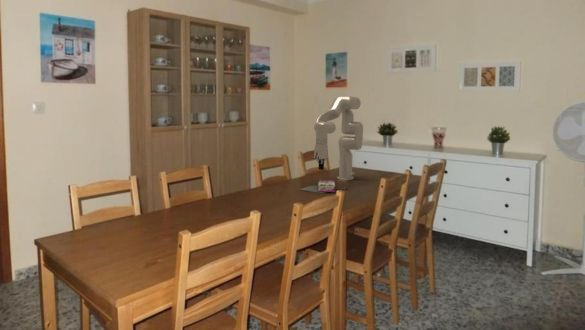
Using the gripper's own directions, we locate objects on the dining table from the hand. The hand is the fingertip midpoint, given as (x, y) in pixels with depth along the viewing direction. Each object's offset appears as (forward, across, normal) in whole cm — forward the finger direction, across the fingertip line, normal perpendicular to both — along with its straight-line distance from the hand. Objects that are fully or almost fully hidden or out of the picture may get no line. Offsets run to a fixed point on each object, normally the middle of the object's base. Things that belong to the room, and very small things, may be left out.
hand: (321, 169), depth 292 cm
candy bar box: (+10, -5, +1) cm, 11 cm away
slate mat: (+13, +4, 0) cm, 14 cm away
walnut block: (+13, -8, +11) cm, 19 cm away
